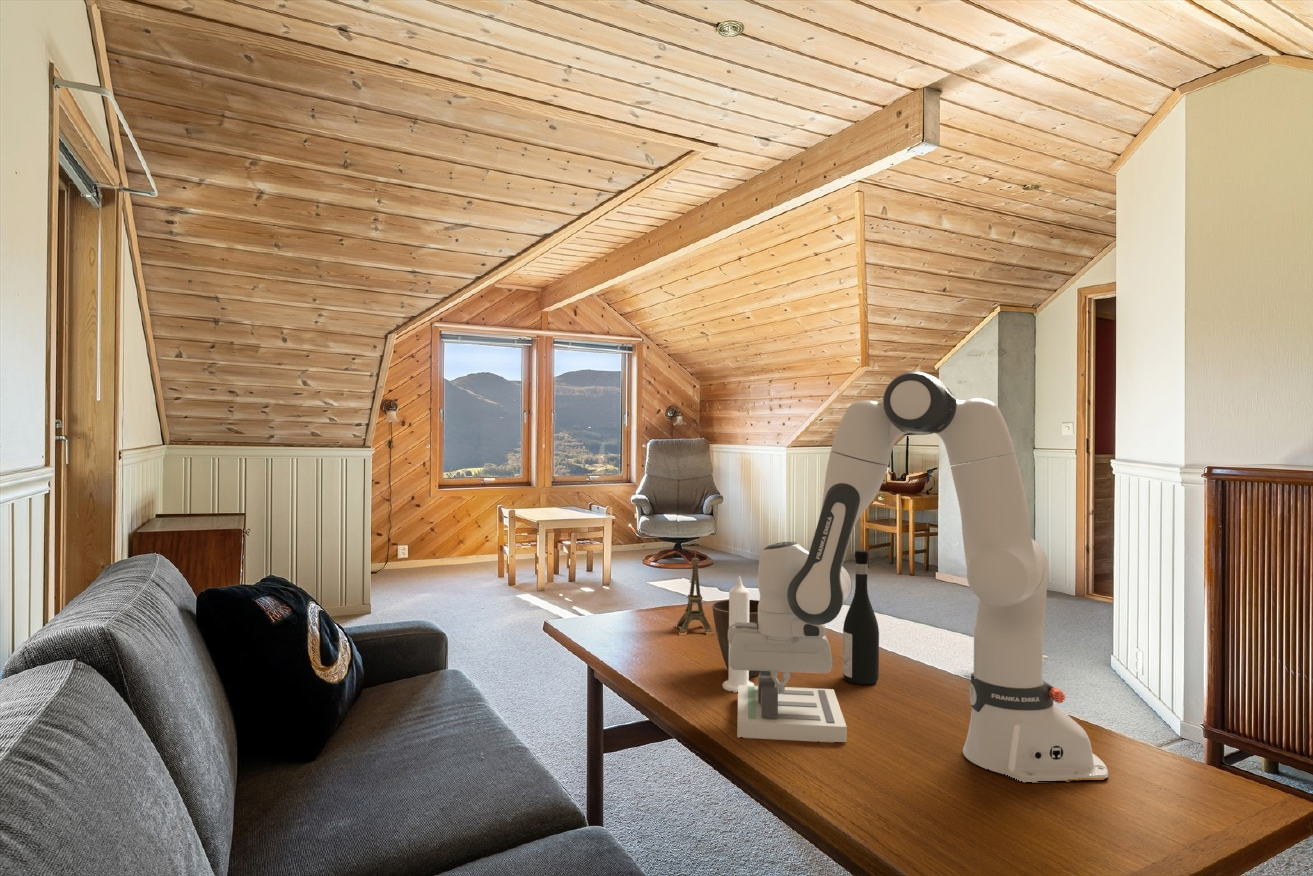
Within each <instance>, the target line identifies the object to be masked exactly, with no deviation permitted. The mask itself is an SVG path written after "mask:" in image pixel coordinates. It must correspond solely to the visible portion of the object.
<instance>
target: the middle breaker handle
mask: <svg viewBox="0 0 1313 876" xmlns="http://www.w3.org/2000/svg"><path fill="white" fill-rule="evenodd" d="M757 676H758V677H757V686H758V704H761V687H774V680H772V678H771V676H762V675H760V674H758V675H757Z"/></svg>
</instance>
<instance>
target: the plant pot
mask: <svg viewBox="0 0 1313 876" xmlns="http://www.w3.org/2000/svg"><path fill="white" fill-rule="evenodd" d="M758 604H759V600H756V599H749V623H758ZM712 615H713V621H714V627H715V628H714V629H715V632H716V633H715V634H716V637H717V640H718V645H719V648H720V651H721V655H722V657H723V662H724V664H725V666H726V670H727V672H728V673H729V641H728V629H729V599H724V600H720V601H716V602H713V604H712ZM757 630H758V628H757ZM758 675H760V671H751V670H749V678H753V677H756V676H758Z"/></svg>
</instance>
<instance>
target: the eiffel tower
mask: <svg viewBox="0 0 1313 876" xmlns="http://www.w3.org/2000/svg"><path fill="white" fill-rule="evenodd" d="M696 544H697V543H696ZM696 544H694V546H695V548H694V557H692V558H691V563H692V573H691V581H690V588H689V594H687V599H688V600H687V606H686V608H685V609H684V611H685V612H684V613H683V614H682V616H681V617H680V619H679V620H678V622H677V624H676V625H677V627H681V628H679V630H678V632H680V633H685V632H688V629H689V625H690V624H691V622H692V621H699V622H700V623H701V624H703V626H704V628H703V629H704V633H705V632H714V631H713V627H712V625H711V624H710V623H709V621H708V619H707V617H706V616H705V615H706V612H705V611H704V609H703V603H702V601H703V596H702V594H701V589H700V588H701V587H700V579H699V567H698V566H699V563H700V561H699V558H698V557H697V549H696V548H697V545H696ZM695 590H696V592H695ZM695 593H696V594H695ZM693 604H697V608H698V609H693ZM710 625H711V626H710ZM711 627H712V628H711Z"/></svg>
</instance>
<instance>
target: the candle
mask: <svg viewBox="0 0 1313 876" xmlns="http://www.w3.org/2000/svg"><path fill="white" fill-rule="evenodd" d="M743 584H744V583H743V581H742V577H741V576H740V575H738V577H737V581H736V584H735V585H734V586H733V587H732V588H731V589H729V591H728V593H729V594H728V597H729V598H728V600H729V627H730V626H731V625H733V624H735V623H736V622H742V623H749V600H750V590H749V589H748V588H746V587H745V586H744V585H743ZM734 627H735V626H734ZM730 648H731V644H730V642H729V660H730ZM749 679H750V677H749V670H733V669H732V668H731V666H730V665H729V672H728V679H727V680H724V681H723V682H722V688H723V689H724V690H725V691H728V692H731V691H733V692H732V693H737V692H738V685H749V686H755V683H754V682H752V681H751V680H749Z"/></svg>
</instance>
